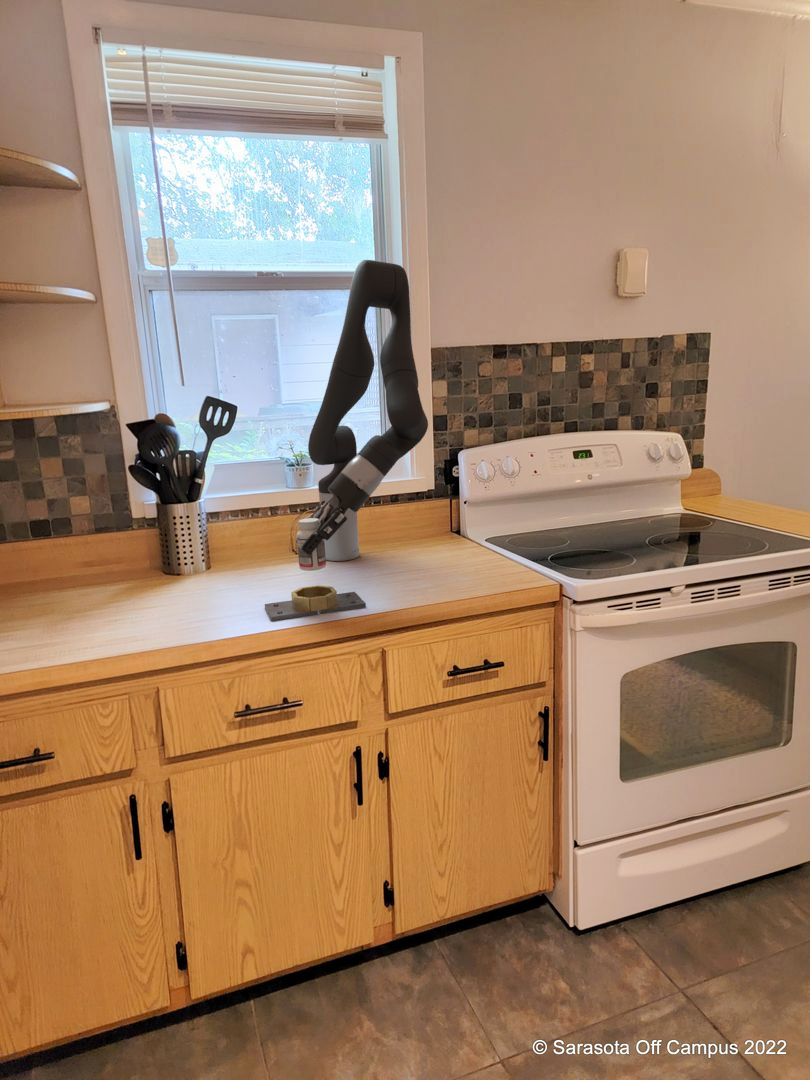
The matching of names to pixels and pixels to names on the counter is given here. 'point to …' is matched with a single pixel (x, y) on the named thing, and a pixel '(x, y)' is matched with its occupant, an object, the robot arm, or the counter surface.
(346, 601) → the octagonal bottle holder
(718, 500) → the counter surface
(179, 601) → the counter surface
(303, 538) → the pill bottle
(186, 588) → the counter surface
